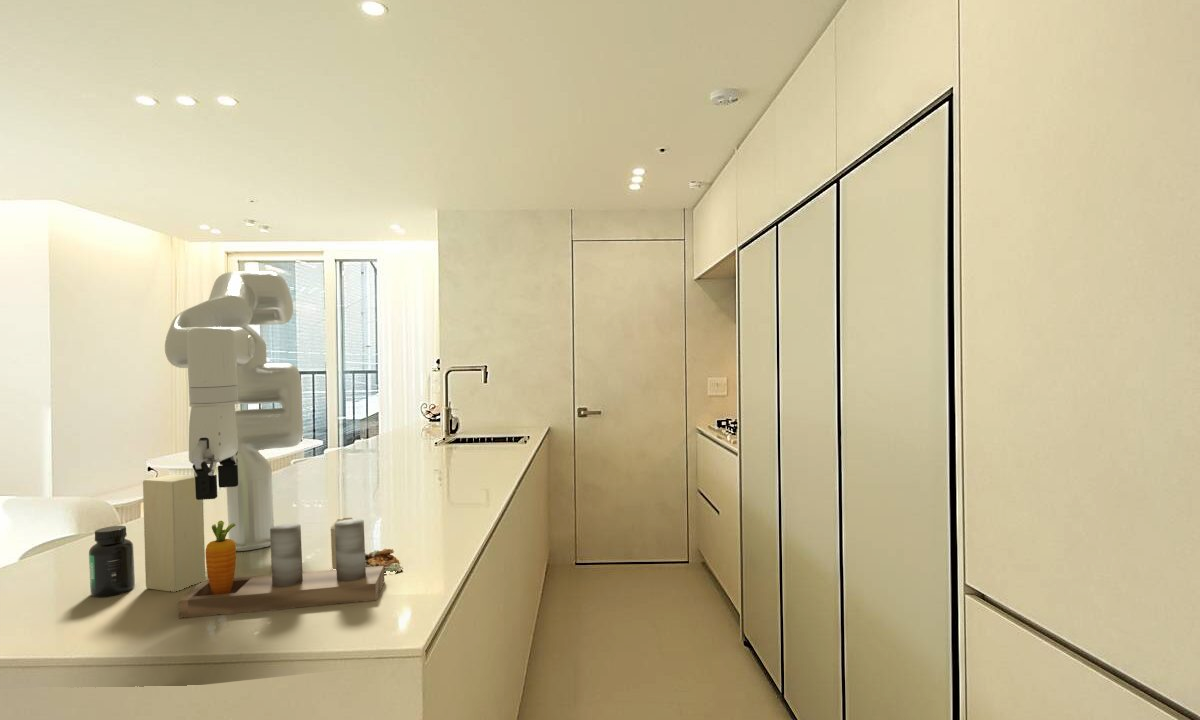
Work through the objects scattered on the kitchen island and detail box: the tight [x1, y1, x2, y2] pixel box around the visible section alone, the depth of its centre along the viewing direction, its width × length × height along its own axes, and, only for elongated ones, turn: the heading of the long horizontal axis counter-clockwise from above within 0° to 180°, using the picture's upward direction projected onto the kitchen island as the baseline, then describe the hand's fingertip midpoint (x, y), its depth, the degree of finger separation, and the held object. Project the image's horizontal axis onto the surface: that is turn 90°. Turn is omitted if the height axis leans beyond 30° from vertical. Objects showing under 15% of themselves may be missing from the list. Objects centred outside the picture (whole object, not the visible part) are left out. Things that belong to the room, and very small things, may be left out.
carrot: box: [205, 520, 237, 595], centre depth 118 cm, size 5×5×15 cm
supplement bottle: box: [88, 525, 136, 598], centre depth 126 cm, size 7×7×12 cm
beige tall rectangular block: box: [142, 473, 206, 593], centre depth 129 cm, size 8×7×21 cm
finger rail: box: [177, 518, 385, 619], centre depth 119 cm, size 10×32×13 cm, turn 100°
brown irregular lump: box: [365, 548, 404, 573], centre depth 136 cm, size 7×12×4 cm, turn 51°
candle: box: [330, 517, 353, 570], centre depth 136 cm, size 6×6×10 cm
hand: (218, 492), depth 118 cm, fingers open, 9 cm apart
